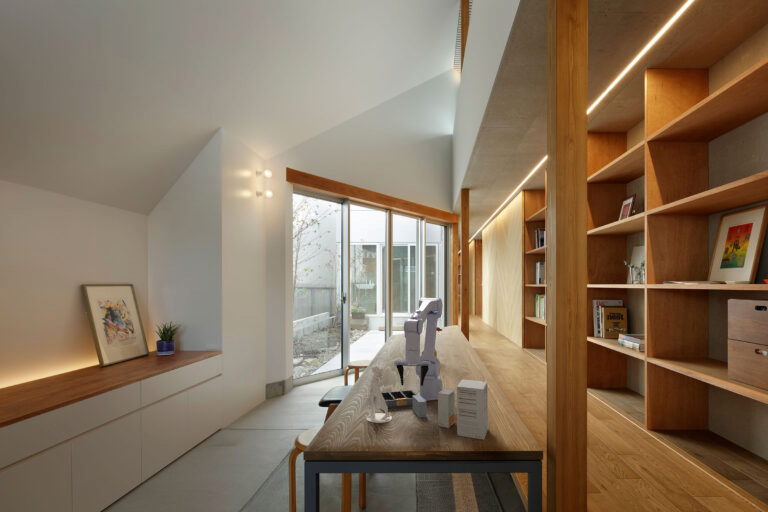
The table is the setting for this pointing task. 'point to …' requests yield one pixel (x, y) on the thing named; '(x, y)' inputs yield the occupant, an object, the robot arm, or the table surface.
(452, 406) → the skincare box
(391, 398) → the divided tray
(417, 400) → the grey rectangular block
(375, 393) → the female figurine
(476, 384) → the supplement box
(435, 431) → the table surface
